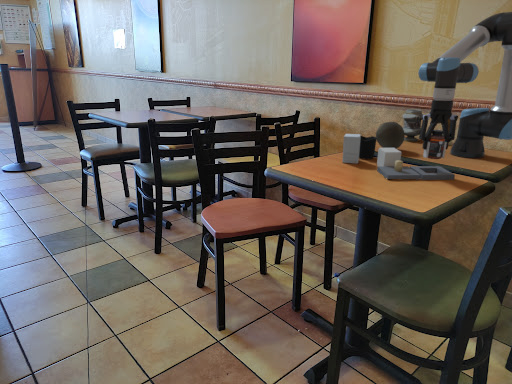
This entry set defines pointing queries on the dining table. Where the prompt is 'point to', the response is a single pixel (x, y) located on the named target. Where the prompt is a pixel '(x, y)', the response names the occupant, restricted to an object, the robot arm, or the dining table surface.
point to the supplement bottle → (436, 144)
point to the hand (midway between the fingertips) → (433, 157)
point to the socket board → (439, 175)
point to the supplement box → (351, 148)
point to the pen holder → (367, 147)
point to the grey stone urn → (412, 124)
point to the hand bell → (448, 130)
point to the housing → (388, 156)
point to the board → (398, 171)
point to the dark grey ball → (390, 135)
